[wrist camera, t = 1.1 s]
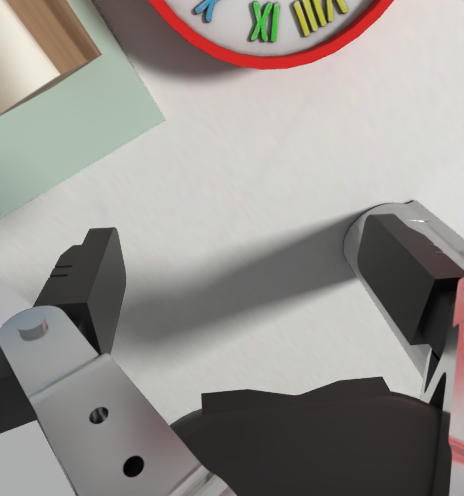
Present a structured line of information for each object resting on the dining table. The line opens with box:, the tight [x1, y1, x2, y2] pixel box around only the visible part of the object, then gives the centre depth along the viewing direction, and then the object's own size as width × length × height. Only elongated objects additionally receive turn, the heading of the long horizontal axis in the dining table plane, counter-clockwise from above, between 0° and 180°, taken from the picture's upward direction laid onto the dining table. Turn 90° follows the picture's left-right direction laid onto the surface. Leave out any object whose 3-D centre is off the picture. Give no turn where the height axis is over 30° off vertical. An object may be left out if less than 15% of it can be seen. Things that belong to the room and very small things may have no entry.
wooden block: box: [0, 0, 102, 116], centre depth 22 cm, size 5×5×12 cm
